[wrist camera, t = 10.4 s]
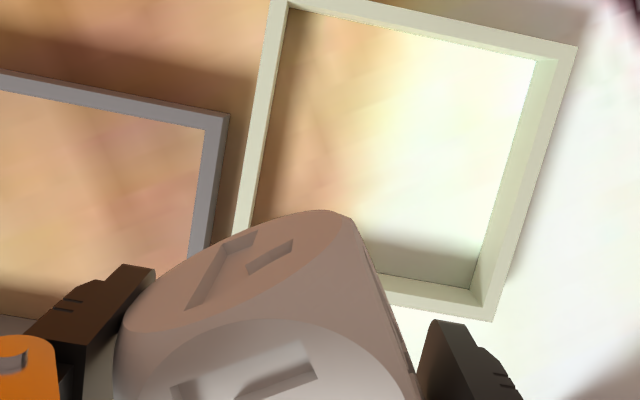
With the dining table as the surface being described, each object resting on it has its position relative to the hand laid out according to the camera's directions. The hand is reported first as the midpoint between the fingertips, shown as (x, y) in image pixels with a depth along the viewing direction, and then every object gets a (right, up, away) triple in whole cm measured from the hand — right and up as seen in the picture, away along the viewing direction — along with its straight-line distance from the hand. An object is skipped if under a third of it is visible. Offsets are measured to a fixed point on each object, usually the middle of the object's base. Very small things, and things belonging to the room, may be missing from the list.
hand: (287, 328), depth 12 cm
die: (0, 0, +1) cm, 1 cm away
